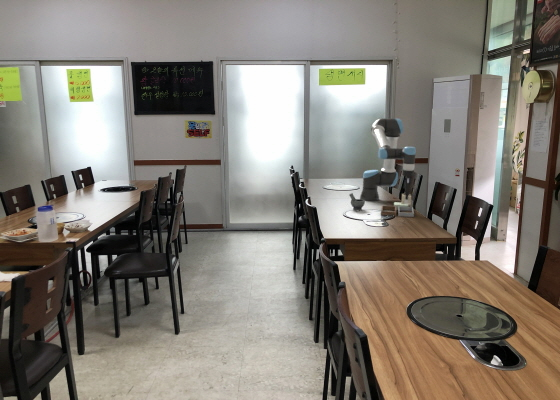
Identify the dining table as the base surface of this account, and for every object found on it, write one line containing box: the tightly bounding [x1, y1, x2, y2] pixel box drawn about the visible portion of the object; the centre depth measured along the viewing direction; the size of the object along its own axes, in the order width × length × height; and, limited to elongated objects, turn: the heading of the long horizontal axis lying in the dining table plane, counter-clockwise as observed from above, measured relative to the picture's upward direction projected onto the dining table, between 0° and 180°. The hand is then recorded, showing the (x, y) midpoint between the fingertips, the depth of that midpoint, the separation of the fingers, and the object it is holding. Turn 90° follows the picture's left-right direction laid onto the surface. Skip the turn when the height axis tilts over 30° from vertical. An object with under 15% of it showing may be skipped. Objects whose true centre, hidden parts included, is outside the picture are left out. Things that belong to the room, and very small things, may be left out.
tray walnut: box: [380, 205, 397, 217], centre depth 316 cm, size 20×10×2 cm, turn 166°
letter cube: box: [401, 193, 412, 206], centre depth 312 cm, size 6×6×6 cm
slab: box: [393, 201, 410, 211], centre depth 329 cm, size 10×10×4 cm
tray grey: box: [397, 206, 415, 218], centre depth 313 cm, size 20×10×2 cm, turn 166°
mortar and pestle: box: [349, 192, 366, 211], centre depth 323 cm, size 11×9×12 cm
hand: (406, 202), depth 313 cm, fingers closed on letter cube, 6 cm apart
